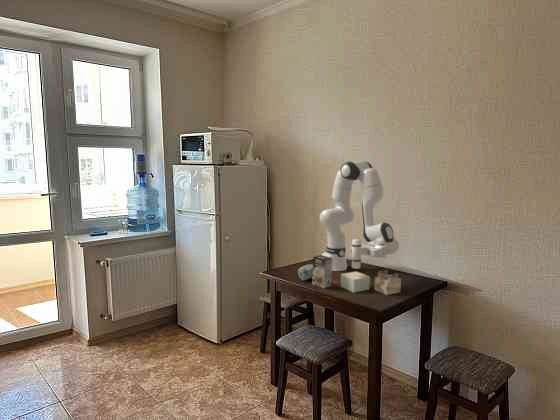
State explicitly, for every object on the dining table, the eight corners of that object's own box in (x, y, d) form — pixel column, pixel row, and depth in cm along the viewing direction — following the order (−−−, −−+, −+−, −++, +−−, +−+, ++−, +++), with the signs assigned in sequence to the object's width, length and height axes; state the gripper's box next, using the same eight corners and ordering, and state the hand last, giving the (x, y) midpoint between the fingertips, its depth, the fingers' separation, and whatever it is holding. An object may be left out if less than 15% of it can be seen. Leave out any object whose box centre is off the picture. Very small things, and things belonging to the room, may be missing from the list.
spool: (306, 278, 217) (304, 260, 221) (295, 282, 223) (293, 265, 227) (323, 279, 225) (321, 262, 229) (312, 283, 232) (309, 267, 236)
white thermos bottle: (349, 267, 210) (349, 239, 209) (356, 265, 213) (357, 238, 211) (355, 269, 206) (356, 241, 204) (362, 267, 208) (363, 240, 207)
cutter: (328, 284, 217) (328, 281, 216) (333, 282, 221) (333, 279, 221) (350, 289, 208) (350, 287, 207) (355, 287, 212) (355, 284, 212)
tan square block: (374, 289, 208) (375, 271, 207) (387, 287, 213) (388, 269, 212) (386, 295, 200) (387, 276, 199) (400, 291, 205) (401, 273, 204)
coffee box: (311, 284, 216) (312, 256, 214) (319, 282, 220) (320, 254, 218) (323, 288, 209) (324, 259, 207) (331, 286, 213) (332, 257, 211)
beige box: (340, 286, 213) (340, 274, 212) (355, 283, 218) (356, 271, 218) (353, 292, 204) (354, 279, 203) (369, 289, 209) (370, 276, 208)
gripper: (361, 239, 223) (342, 242, 216) (388, 246, 206) (368, 249, 199) (361, 250, 224) (342, 253, 217) (387, 258, 207) (368, 261, 200)
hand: (355, 251), depth 208 cm, fingers closed on white thermos bottle, 5 cm apart
